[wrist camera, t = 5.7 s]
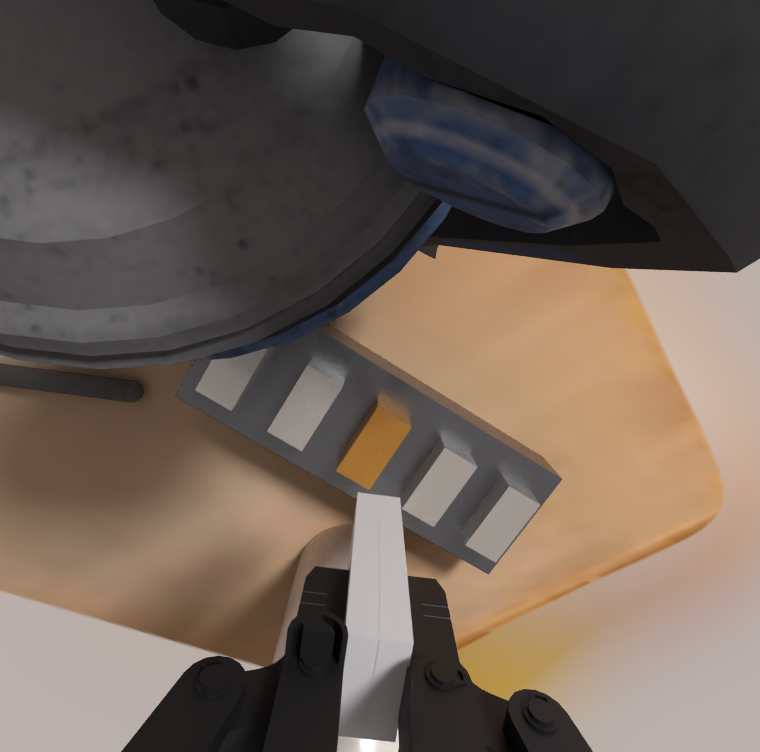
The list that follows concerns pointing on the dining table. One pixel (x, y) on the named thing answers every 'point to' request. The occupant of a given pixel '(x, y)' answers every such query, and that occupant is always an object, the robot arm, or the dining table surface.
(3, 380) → the dark gray rod
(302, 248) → the beverage bottle
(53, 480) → the dining table surface
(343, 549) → the white glossy cylinder
